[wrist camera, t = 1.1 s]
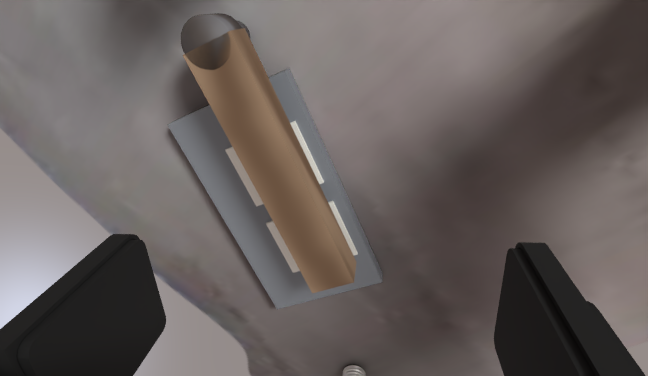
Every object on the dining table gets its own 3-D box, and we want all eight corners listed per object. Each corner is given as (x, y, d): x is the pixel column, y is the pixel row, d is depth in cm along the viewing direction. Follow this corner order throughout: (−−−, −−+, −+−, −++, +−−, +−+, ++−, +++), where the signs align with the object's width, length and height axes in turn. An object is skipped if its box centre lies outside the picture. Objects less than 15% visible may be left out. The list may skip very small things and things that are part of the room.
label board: (288, 67, 33) (283, 71, 31) (382, 273, 40) (382, 284, 39) (175, 120, 37) (165, 125, 35) (280, 299, 44) (276, 311, 42)
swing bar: (232, 3, 29) (216, 3, 26) (356, 261, 37) (354, 282, 34) (188, 27, 30) (169, 30, 27) (317, 272, 38) (312, 293, 35)
